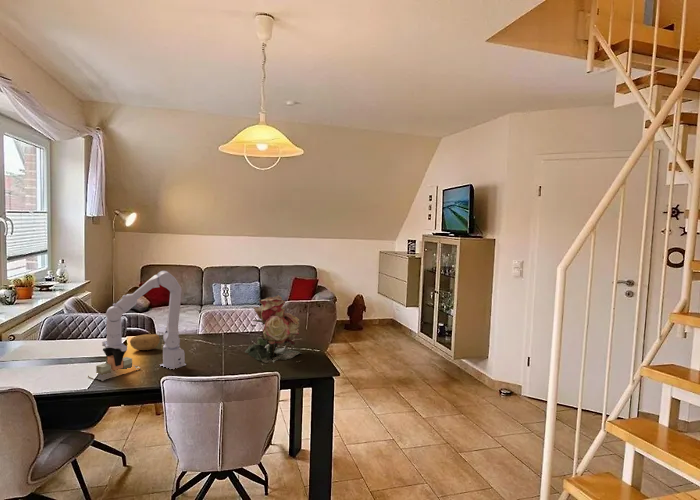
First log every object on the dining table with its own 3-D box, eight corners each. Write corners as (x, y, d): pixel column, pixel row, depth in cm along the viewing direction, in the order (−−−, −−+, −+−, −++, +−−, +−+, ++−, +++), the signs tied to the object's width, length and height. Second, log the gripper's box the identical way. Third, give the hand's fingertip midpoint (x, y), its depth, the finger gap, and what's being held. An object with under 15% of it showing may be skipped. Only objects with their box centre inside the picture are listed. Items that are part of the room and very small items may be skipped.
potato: (130, 348, 231) (130, 333, 231) (160, 346, 236) (160, 331, 236) (128, 354, 222) (128, 338, 222) (159, 352, 227) (159, 336, 227)
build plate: (140, 369, 202) (140, 358, 201) (101, 381, 186) (101, 370, 185) (126, 365, 206) (126, 354, 206) (87, 377, 191) (87, 365, 190)
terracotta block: (123, 367, 197) (123, 355, 197) (113, 370, 193) (113, 358, 193) (117, 365, 199) (116, 353, 199) (107, 368, 195) (107, 356, 195)
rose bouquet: (267, 366, 210) (268, 303, 208) (239, 351, 232) (240, 294, 230) (312, 356, 227) (313, 298, 224) (282, 343, 249) (283, 289, 247)
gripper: (95, 333, 195) (95, 363, 196) (115, 338, 188) (116, 370, 189) (110, 330, 201) (111, 359, 202) (131, 335, 194) (131, 365, 195)
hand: (114, 364), depth 196 cm, fingers closed on terracotta block, 4 cm apart
